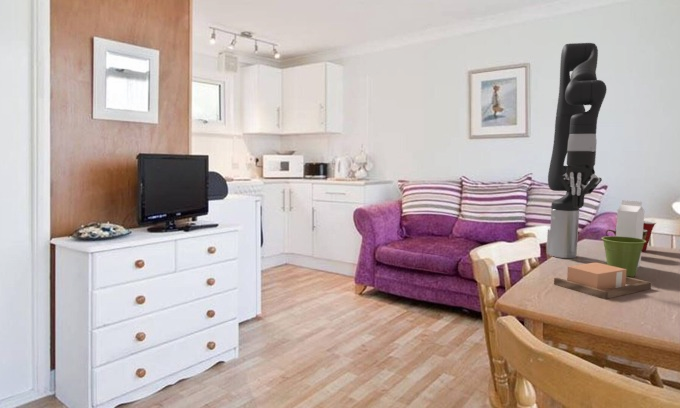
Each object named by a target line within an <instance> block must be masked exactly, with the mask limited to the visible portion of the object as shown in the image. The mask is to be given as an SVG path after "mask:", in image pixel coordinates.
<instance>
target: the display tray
mask: <svg viewBox="0 0 680 408" xmlns="http://www.w3.org/2000/svg"><path fill="white" fill-rule="evenodd" d="M553 285H556V286H559V287H563V288H566V289H569V290H573V291H575V292H580V293H583V294H586V295H589V296H593V297H596V298H600V299H603V300H606V299H611V298H616V297H620V296H624V295H630V294H633V293H638V292H643V291H647V290H652V282H650V281H646V280H642V279H638V278H634V277H630V276H627V277H626V284H625V286H623V287H618V288H613V289H608V290H600V289H597V288H593V287H589V286H586V285H582V284H579V283H575V282H571V281H568V280H567V279H563V278H561V277H554V278H553Z"/></svg>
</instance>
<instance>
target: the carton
mask: <svg viewBox="0 0 680 408" xmlns="http://www.w3.org/2000/svg"><path fill="white" fill-rule="evenodd" d="M626 270H627V269H623V268H618V267H614V266H610V265H607V264H605V263H602V262H601V263H600V262H589V263H583V264H576V265H575V264H574V265H571V266H570V265H569V266H567V273H566V274H567V276H566V277H567V278H566V280H568V281H571V282H575V283H579V284H582V285H586V286H589V287H593V288H597V289H600V290H608V289H613V288H618V287H623V286H626V285H627V284H626Z"/></svg>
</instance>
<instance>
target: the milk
mask: <svg viewBox="0 0 680 408" xmlns="http://www.w3.org/2000/svg"><path fill="white" fill-rule="evenodd" d="M642 203H643V202H642V201H637V200H636V201H635V200H626V199H625V200H621V205H620V206H619V208H618V209H617V214H616V227H615V228H616V230H615V231H616V236H619V237H632V238H638V239H642V237H643V224H644V221H645V209H644V208H643V207H642V205H643V204H642ZM641 261H642V253H641V254H640V258H639V262H638V266H637V268H639V267H641V263H642V262H641Z"/></svg>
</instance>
